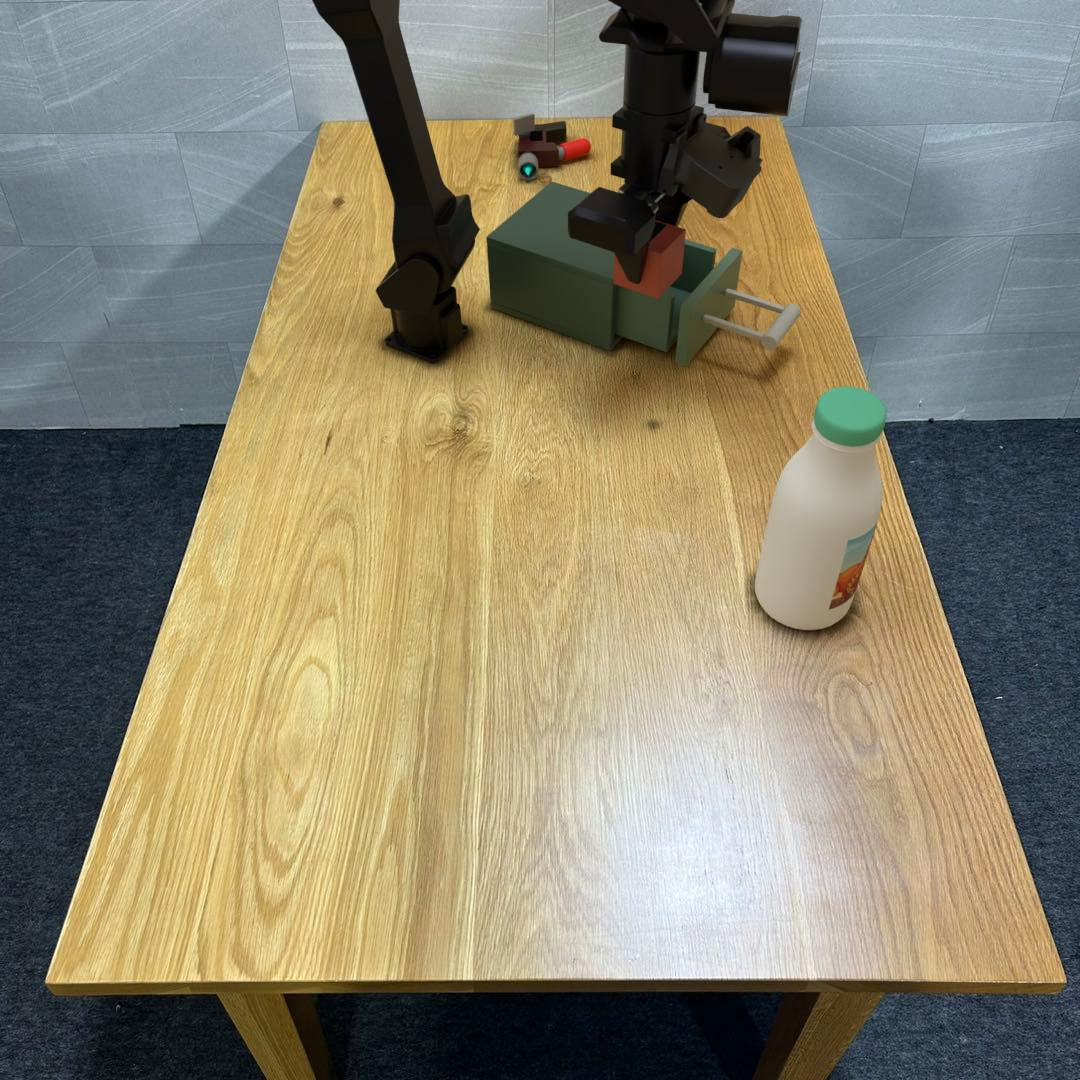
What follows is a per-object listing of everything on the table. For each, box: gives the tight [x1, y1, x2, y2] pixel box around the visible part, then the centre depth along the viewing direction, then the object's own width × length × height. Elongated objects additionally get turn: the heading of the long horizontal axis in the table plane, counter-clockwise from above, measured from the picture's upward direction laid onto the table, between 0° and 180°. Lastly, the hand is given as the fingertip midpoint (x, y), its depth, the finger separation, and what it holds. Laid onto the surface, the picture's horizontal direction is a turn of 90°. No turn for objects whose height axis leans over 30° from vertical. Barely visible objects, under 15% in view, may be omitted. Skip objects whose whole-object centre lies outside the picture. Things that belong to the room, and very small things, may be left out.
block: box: [614, 220, 687, 299], centre depth 92 cm, size 5×5×5 cm
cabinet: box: [485, 181, 624, 352], centre depth 108 cm, size 15×13×9 cm
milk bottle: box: [754, 385, 888, 631], centre depth 76 cm, size 8×8×20 cm
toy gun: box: [512, 113, 592, 181], centre depth 129 cm, size 10×12×5 cm
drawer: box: [614, 238, 802, 367], centre depth 103 cm, size 21×11×7 cm, turn 58°
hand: (647, 269), depth 93 cm, fingers closed on block, 4 cm apart
